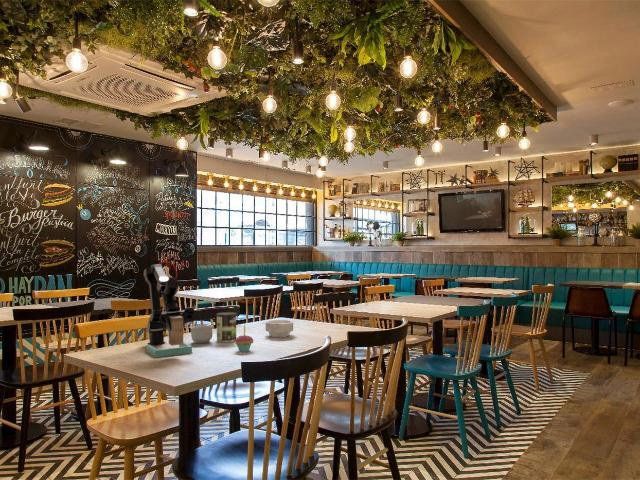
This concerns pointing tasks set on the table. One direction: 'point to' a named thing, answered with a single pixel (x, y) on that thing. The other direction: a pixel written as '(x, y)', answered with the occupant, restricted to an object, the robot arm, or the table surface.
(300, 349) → the table surface
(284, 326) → the paper bowls
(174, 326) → the handle block
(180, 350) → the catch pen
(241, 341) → the cupcake
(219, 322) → the coffee can
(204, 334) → the teacup
